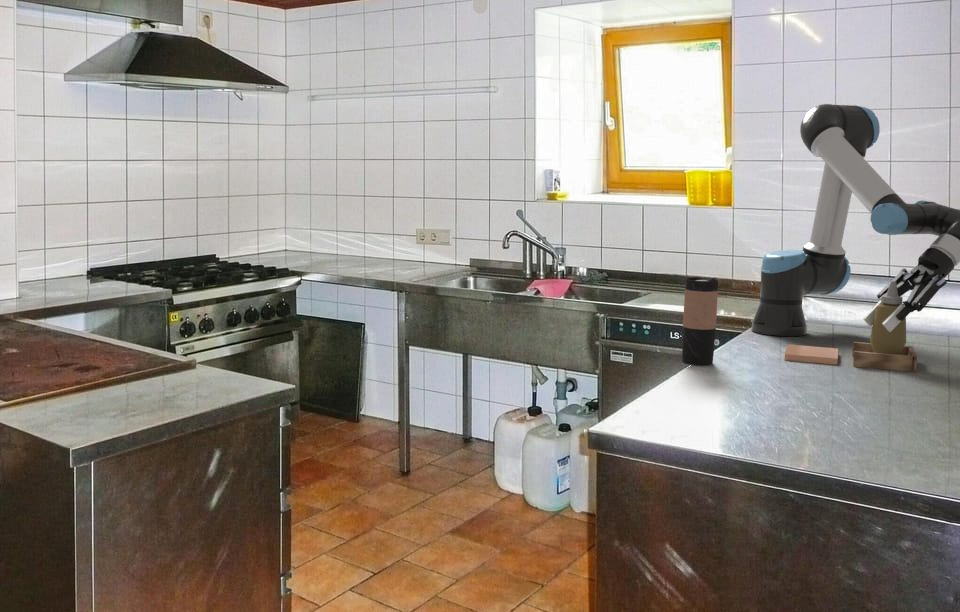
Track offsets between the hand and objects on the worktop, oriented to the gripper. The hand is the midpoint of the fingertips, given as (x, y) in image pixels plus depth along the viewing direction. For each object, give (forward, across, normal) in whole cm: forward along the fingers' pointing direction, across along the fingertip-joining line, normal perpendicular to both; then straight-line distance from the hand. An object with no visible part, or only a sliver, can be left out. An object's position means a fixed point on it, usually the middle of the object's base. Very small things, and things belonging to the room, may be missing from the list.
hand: (876, 325), depth 215 cm
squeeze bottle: (+3, 0, -8) cm, 8 cm away
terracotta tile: (+14, +10, 0) cm, 17 cm away
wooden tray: (+5, 0, -9) cm, 10 cm away
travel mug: (+37, +7, +23) cm, 44 cm away
